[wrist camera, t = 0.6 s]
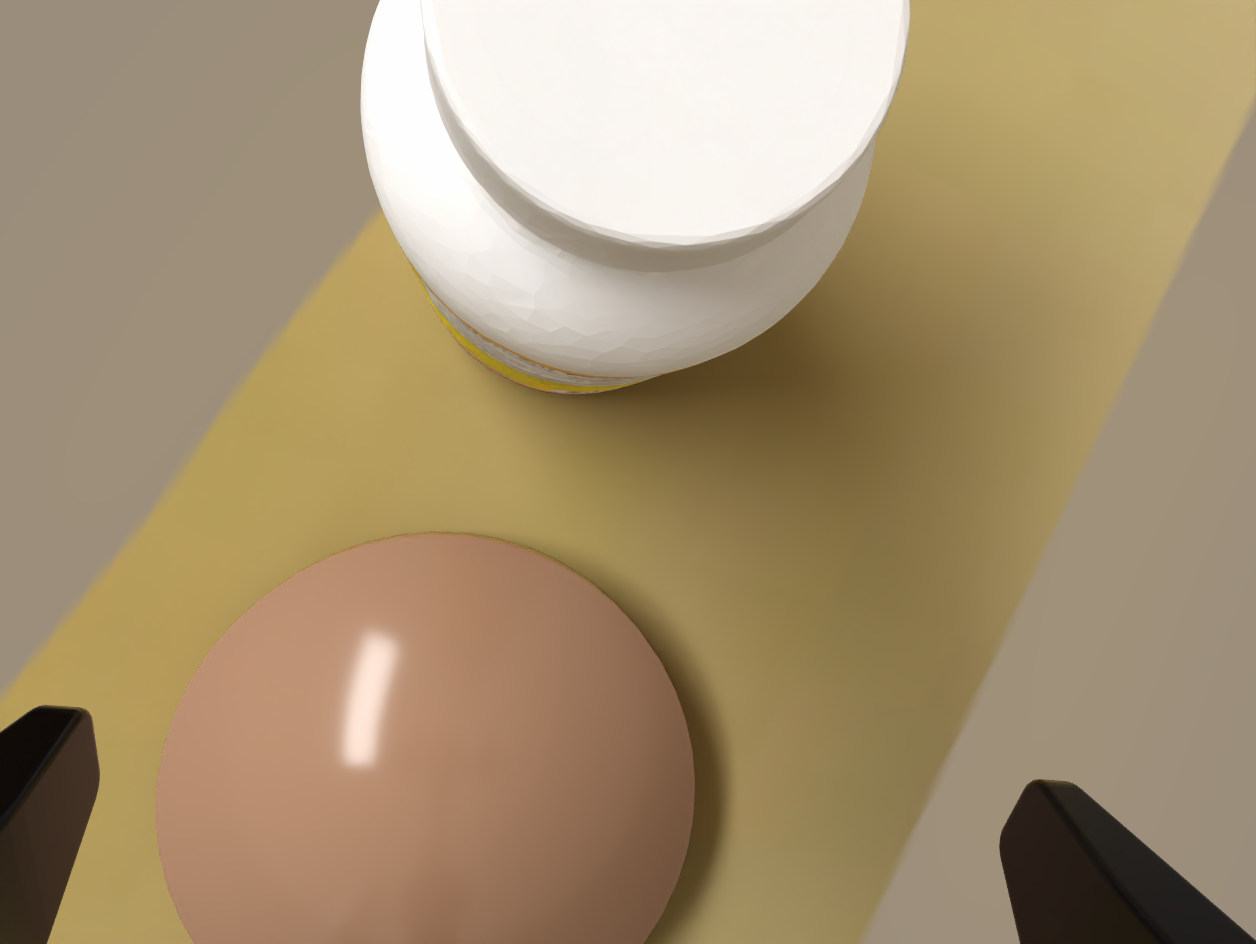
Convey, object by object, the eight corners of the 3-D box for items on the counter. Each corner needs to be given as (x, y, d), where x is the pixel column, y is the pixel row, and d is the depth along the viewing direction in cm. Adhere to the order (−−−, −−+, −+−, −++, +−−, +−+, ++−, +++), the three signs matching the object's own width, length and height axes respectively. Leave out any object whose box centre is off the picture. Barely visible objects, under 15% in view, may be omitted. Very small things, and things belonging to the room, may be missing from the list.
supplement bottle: (513, 31, 22) (550, -541, 9) (770, 196, 23) (1137, -110, 10) (356, 298, 21) (161, 101, 9) (622, 454, 22) (800, 482, 10)
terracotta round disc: (654, 1035, 23) (663, 1068, 22) (148, 1018, 21) (127, 1053, 20) (711, 558, 23) (724, 565, 21) (203, 506, 21) (186, 509, 20)
